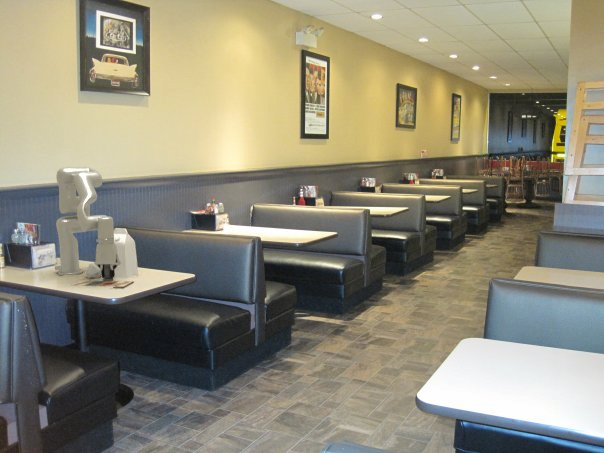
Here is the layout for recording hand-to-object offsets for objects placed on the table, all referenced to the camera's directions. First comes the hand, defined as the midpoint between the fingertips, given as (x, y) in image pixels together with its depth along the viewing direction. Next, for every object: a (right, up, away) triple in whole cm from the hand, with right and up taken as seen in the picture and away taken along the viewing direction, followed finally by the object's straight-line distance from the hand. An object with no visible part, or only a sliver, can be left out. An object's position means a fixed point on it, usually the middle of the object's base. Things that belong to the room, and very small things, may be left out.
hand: (108, 277), depth 300 cm
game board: (-3, -4, +1) cm, 5 cm away
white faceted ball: (-13, -2, +16) cm, 21 cm away
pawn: (0, -2, 0) cm, 2 cm away
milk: (+1, -2, +20) cm, 21 cm away
